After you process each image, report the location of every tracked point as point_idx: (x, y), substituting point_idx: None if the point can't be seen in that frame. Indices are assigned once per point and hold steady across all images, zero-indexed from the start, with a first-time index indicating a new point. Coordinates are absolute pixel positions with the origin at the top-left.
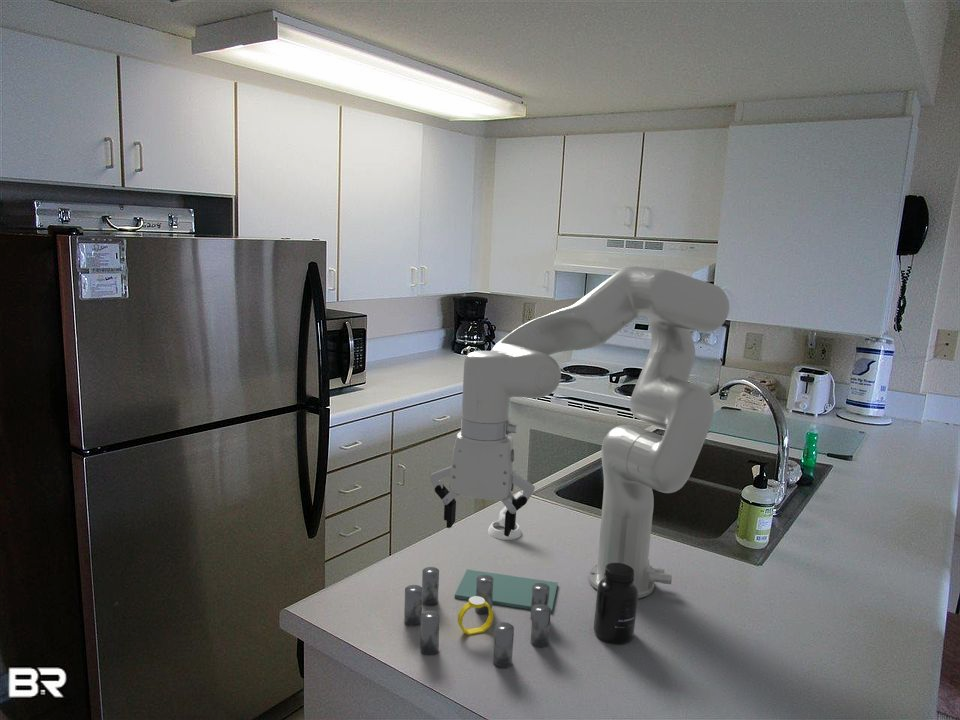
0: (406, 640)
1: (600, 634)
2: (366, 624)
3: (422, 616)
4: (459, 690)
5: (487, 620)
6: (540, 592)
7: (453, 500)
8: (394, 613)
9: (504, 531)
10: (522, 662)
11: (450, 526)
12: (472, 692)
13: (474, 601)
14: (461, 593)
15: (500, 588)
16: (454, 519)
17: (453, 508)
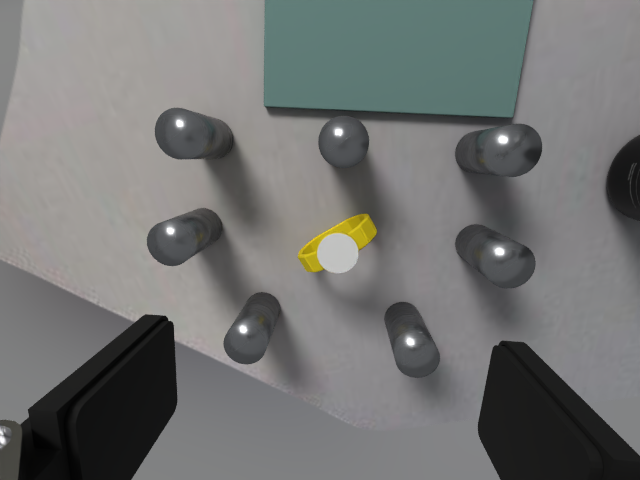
0: (214, 289)
1: (622, 211)
2: (122, 255)
3: (228, 350)
4: (338, 396)
5: (361, 220)
6: (510, 176)
7: (57, 476)
8: (157, 205)
9: (488, 454)
10: (439, 311)
11: (171, 414)
12: (359, 397)
13: (332, 260)
14: (278, 95)
15: (374, 40)
16: (165, 343)
17: (113, 450)
